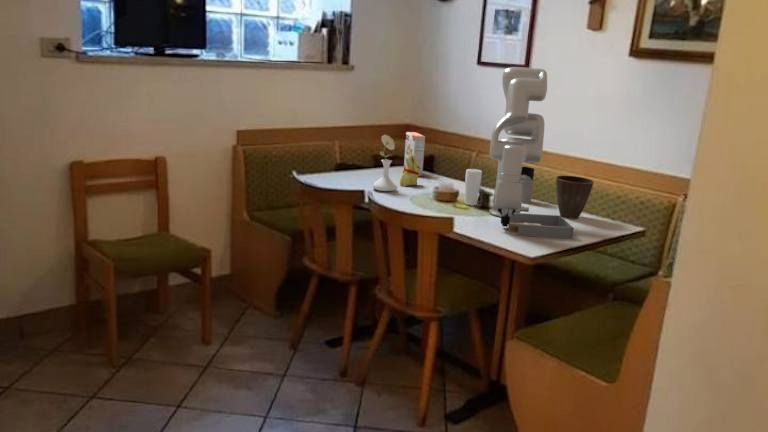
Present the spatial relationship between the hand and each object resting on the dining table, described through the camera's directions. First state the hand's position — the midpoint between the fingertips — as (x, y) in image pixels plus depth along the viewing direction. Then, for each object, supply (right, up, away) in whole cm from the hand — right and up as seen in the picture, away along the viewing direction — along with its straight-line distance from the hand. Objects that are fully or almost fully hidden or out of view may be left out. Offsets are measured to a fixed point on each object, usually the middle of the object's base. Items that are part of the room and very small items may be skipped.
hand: (504, 225), depth 251 cm
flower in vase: (-46, +15, +52) cm, 71 cm away
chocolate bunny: (-34, +18, +67) cm, 77 cm away
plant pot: (+32, +3, +25) cm, 41 cm away
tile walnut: (+4, -2, -1) cm, 5 cm away
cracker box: (-31, +26, +95) cm, 104 cm away
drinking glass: (-8, +8, +35) cm, 37 cm away
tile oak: (+10, -2, 0) cm, 11 cm away
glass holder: (+17, +11, +52) cm, 56 cm away
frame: (+13, -2, +1) cm, 13 cm away
